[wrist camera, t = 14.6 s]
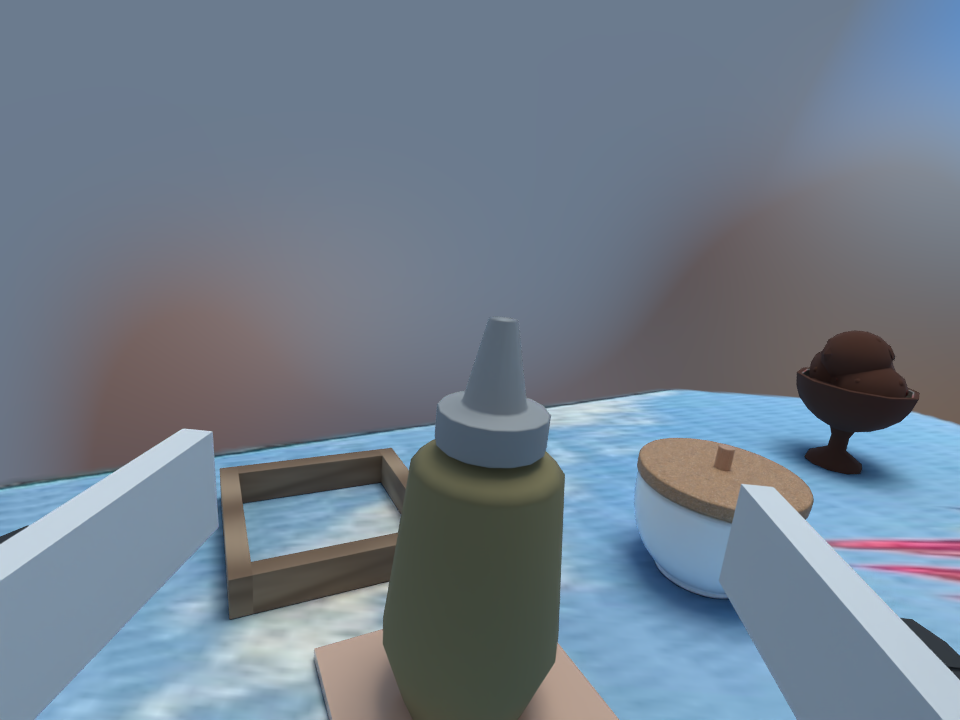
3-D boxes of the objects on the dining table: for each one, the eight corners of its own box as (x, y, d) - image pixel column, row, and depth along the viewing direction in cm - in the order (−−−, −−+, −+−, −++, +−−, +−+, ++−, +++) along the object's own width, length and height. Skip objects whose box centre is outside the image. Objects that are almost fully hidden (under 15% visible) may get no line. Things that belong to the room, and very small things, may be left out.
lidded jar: (590, 551, 38) (610, 430, 35) (674, 512, 44) (697, 409, 42) (733, 652, 30) (772, 505, 27) (811, 587, 36) (848, 463, 34)
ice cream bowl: (909, 497, 51) (960, 350, 48) (782, 468, 55) (819, 330, 51) (878, 457, 61) (917, 332, 57) (771, 435, 65) (801, 316, 61)
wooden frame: (452, 565, 35) (455, 532, 34) (229, 619, 28) (228, 580, 28) (390, 473, 46) (391, 447, 45) (221, 498, 40) (219, 468, 39)
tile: (628, 744, 24) (630, 734, 23) (368, 875, 18) (368, 863, 18) (515, 599, 32) (516, 591, 32) (314, 658, 27) (314, 648, 26)
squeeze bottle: (357, 765, 21) (376, 329, 16) (395, 618, 29) (416, 295, 24) (557, 787, 21) (633, 355, 16) (541, 634, 29) (590, 312, 24)
